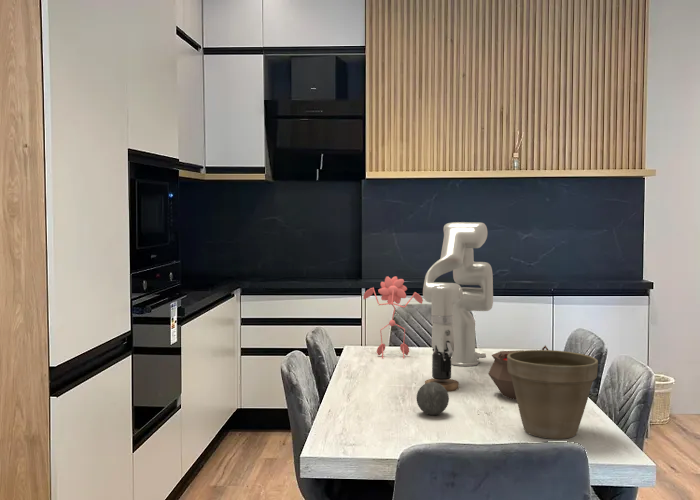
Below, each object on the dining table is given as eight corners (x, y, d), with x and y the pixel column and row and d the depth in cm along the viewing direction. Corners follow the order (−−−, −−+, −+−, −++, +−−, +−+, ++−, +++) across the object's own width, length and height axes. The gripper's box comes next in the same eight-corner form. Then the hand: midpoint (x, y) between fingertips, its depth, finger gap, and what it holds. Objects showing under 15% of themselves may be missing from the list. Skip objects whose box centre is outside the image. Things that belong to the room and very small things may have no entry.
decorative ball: (415, 418, 223) (415, 385, 223) (417, 409, 233) (417, 378, 233) (448, 419, 222) (448, 386, 221) (448, 410, 232) (448, 379, 231)
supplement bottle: (452, 380, 259) (452, 346, 258) (433, 380, 259) (433, 346, 258) (450, 375, 265) (450, 343, 265) (431, 375, 266) (431, 343, 265)
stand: (449, 382, 270) (450, 376, 269) (464, 390, 258) (464, 384, 258) (419, 385, 266) (419, 379, 266) (433, 392, 255) (433, 386, 254)
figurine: (423, 358, 313) (423, 277, 312) (363, 358, 314) (363, 277, 313) (421, 352, 329) (421, 275, 328) (364, 352, 330) (363, 275, 329)
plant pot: (579, 419, 222) (580, 348, 221) (611, 444, 197) (612, 365, 196) (497, 420, 221) (498, 348, 220) (519, 446, 196) (519, 366, 195)
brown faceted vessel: (525, 408, 234) (526, 358, 233) (473, 393, 254) (473, 346, 253) (575, 398, 247) (575, 350, 246) (522, 384, 267) (522, 339, 266)
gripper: (462, 322, 254) (462, 373, 255) (441, 316, 270) (441, 363, 271) (442, 324, 252) (442, 375, 253) (422, 316, 268) (422, 365, 269)
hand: (441, 368), depth 262 cm, fingers closed on supplement bottle, 6 cm apart
